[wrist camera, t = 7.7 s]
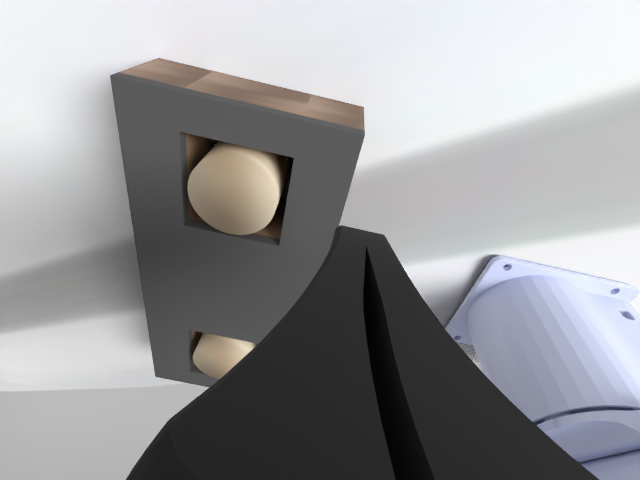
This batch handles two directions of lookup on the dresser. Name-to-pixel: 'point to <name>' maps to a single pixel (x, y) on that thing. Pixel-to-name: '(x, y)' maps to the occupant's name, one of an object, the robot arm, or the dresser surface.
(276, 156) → the peg
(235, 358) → the peg
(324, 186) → the block
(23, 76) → the dresser surface
